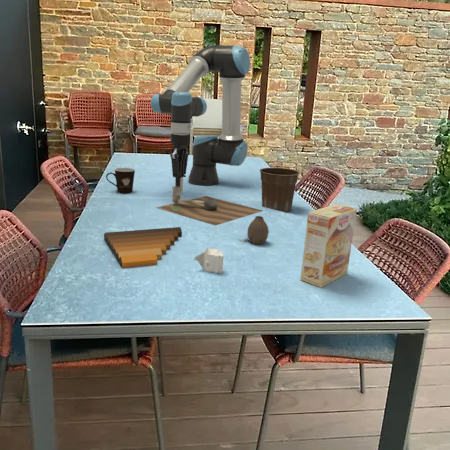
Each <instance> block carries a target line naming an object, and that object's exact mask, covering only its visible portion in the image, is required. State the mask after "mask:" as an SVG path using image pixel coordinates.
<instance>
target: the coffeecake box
mask: <svg viewBox="0 0 450 450" xmlns="http://www.w3.org/2000/svg"><path fill="white" fill-rule="evenodd" d="M357 211H358V209H357V208H354V207H351V206H346V205H341V204H338V203H334V204H332V205H328V206H326V207H322V208H318V209H315V210H311V211H308V212H307V222H306V230H305V236H304V238H305V239H304V245H303V246H304V247H303V252H302V253H303V255H302V263H301V272H300V278H299V279H300V281H302V282H306V283H308V284H310V285H313V286H316V287H317V288H320V289H321V288H324V287H325V286H327V285H329V284H331V283H332V282H334V281H336V280H338V279H341V278H342V277H343V276H346V275H347V274H348V271H349V263H350V258H351V257H350V255H351V252H352V251H351V249H352V243H353V236H354V230H355V224H356V217H357Z"/></svg>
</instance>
